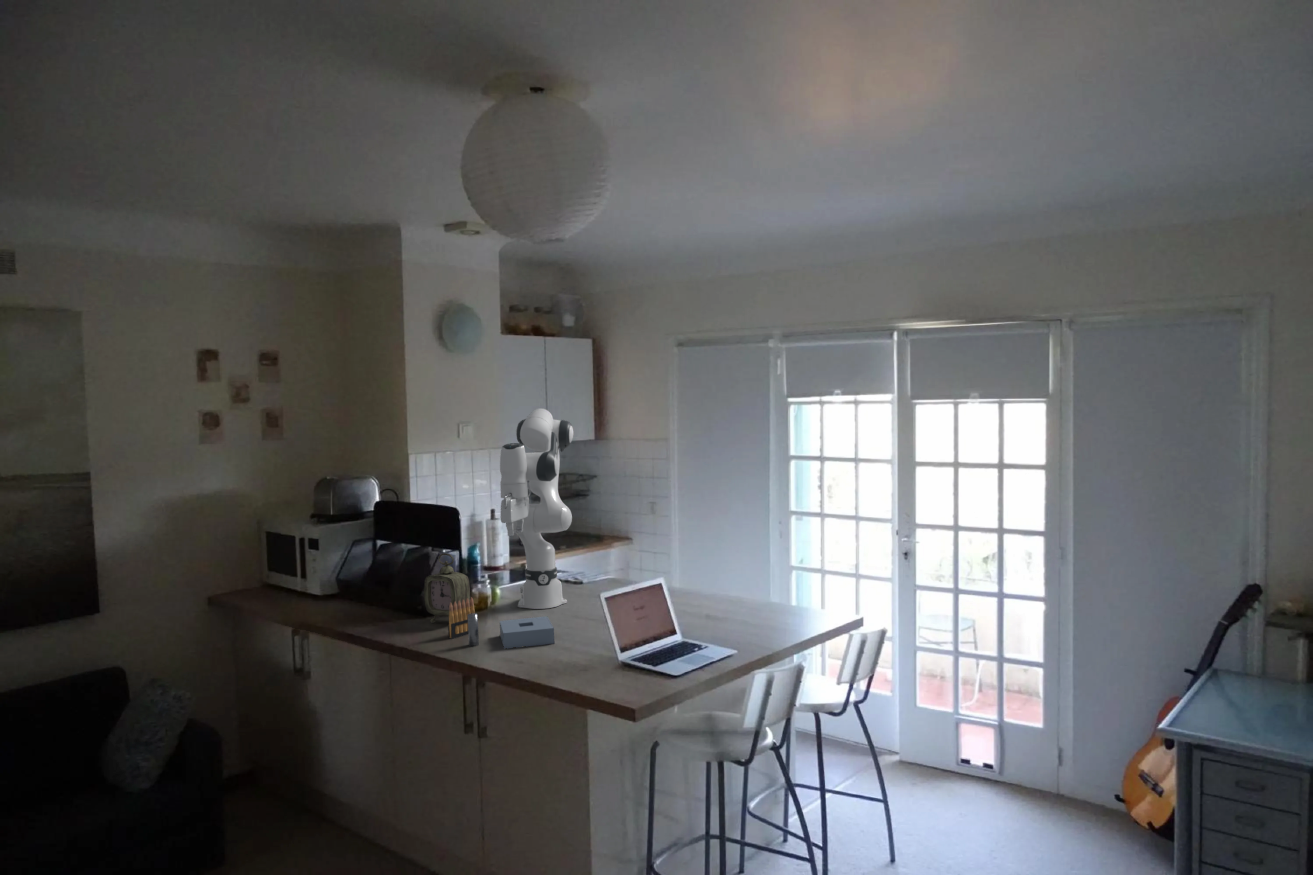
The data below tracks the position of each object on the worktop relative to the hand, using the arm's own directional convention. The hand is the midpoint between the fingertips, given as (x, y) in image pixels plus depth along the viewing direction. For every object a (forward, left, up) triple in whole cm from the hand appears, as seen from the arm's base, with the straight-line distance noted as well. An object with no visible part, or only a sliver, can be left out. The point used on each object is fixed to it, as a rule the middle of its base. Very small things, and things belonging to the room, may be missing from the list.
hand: (515, 533), depth 282 cm
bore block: (+5, +2, -34) cm, 35 cm away
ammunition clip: (-9, -18, -35) cm, 40 cm away
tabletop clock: (-28, -22, -35) cm, 50 cm away
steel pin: (+5, -15, -34) cm, 38 cm away
